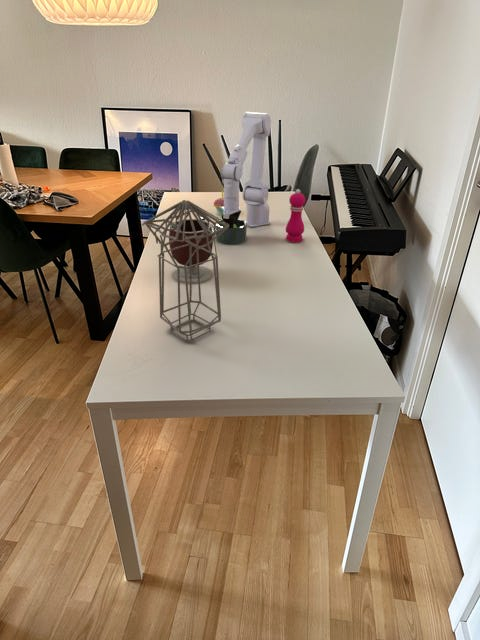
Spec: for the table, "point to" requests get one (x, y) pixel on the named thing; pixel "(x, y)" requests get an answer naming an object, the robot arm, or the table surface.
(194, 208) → the geometric lantern
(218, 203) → the cupcake
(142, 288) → the table surface
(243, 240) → the pot
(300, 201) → the pepper mill
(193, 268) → the mate gourd
